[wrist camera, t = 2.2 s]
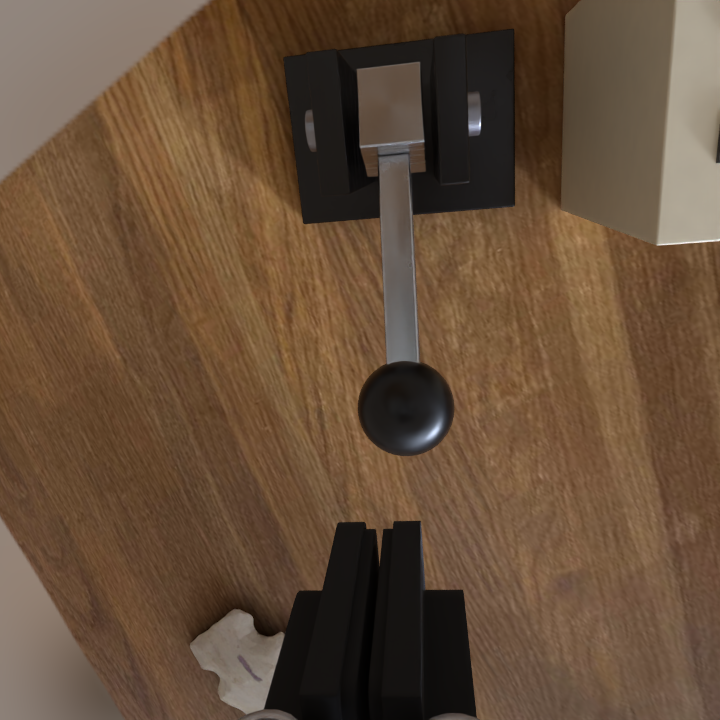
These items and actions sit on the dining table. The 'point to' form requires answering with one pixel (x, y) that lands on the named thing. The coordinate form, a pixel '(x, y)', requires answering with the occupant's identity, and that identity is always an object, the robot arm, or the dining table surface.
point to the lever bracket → (441, 121)
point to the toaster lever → (398, 266)
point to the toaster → (643, 118)
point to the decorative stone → (239, 659)
